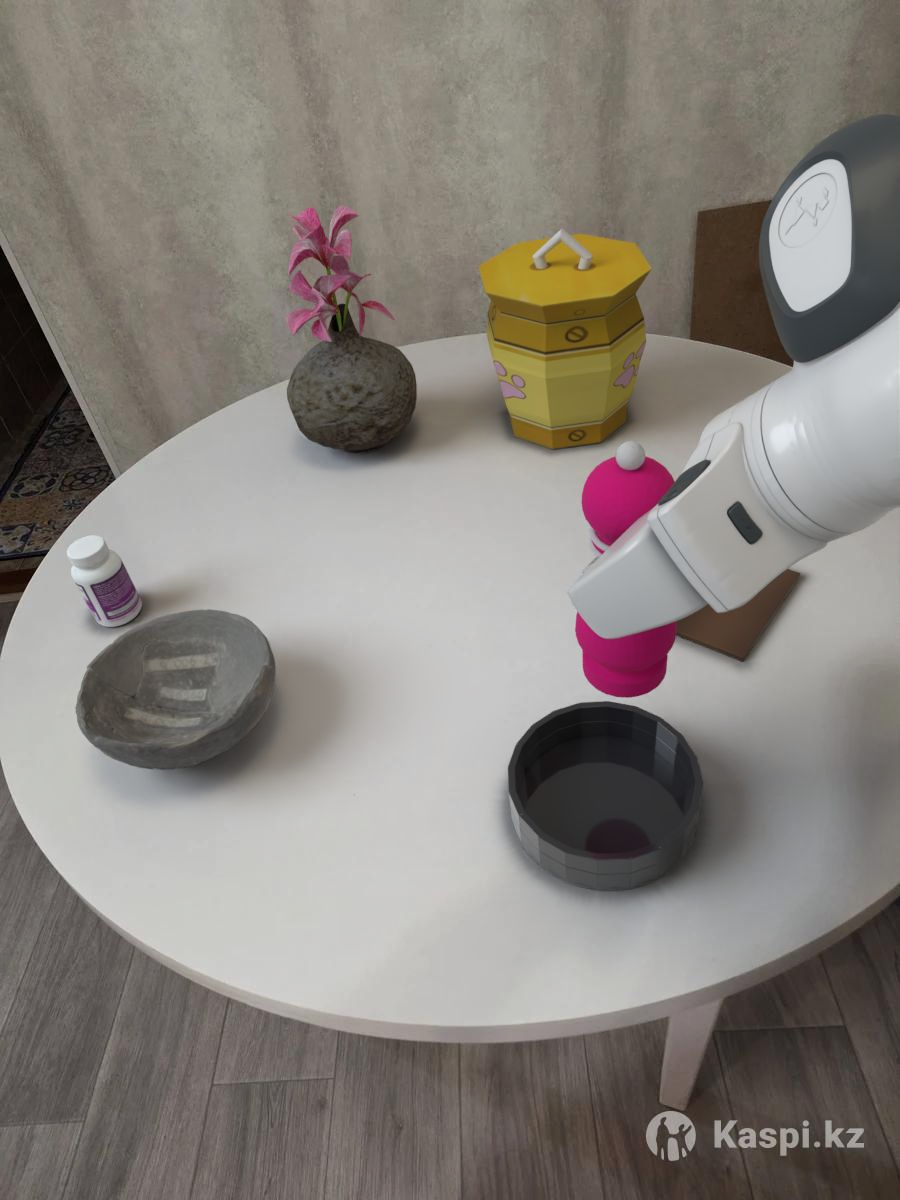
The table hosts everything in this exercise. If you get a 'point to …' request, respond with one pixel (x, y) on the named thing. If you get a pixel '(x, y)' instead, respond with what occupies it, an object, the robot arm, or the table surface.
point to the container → (566, 335)
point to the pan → (604, 795)
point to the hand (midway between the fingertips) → (619, 550)
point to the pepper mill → (610, 510)
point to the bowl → (177, 689)
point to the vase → (343, 352)
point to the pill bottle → (103, 581)
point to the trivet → (737, 620)
